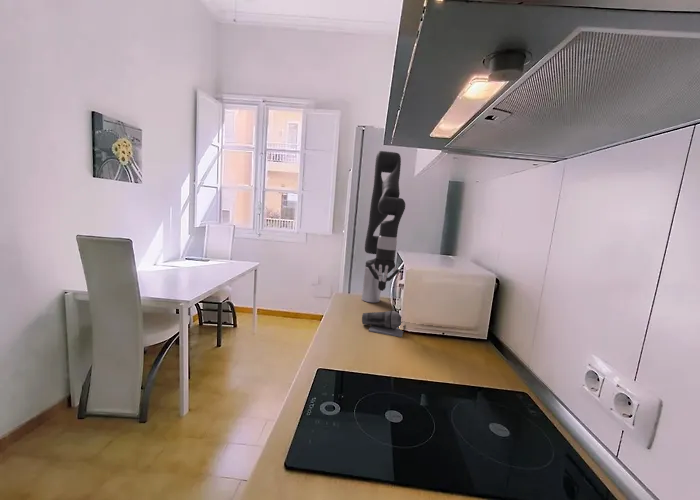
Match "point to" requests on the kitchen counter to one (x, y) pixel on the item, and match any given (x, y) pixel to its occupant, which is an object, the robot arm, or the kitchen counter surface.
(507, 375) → the kitchen counter surface
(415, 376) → the kitchen counter surface
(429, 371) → the kitchen counter surface
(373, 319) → the beverage cup
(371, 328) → the rubber mat
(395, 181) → the robot arm
